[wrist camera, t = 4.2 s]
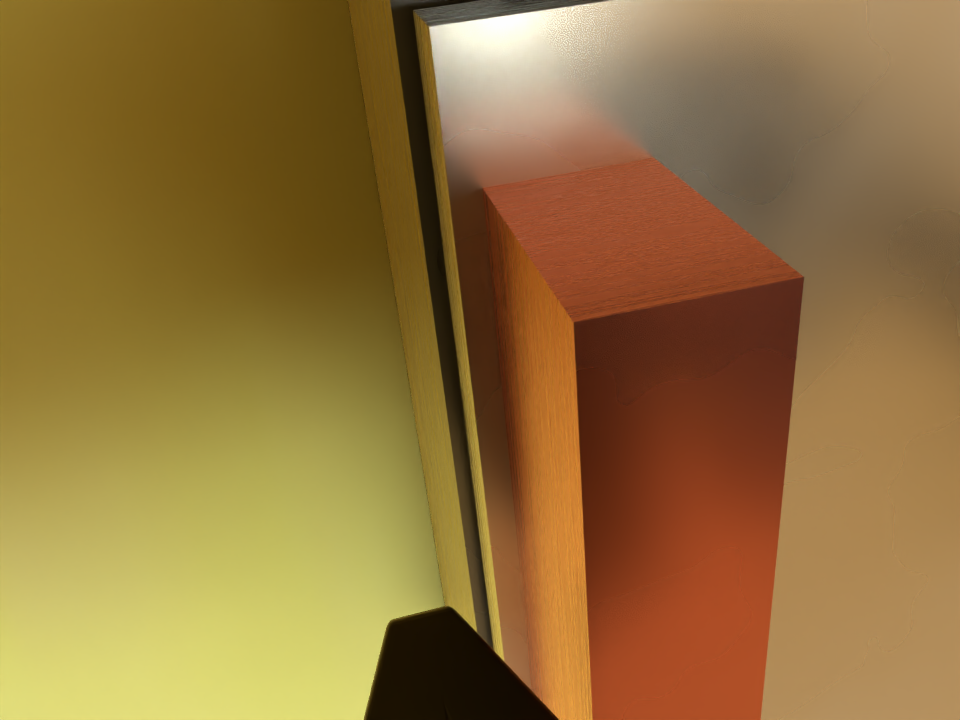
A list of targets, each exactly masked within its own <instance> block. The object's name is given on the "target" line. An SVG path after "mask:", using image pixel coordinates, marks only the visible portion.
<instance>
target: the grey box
mask: <svg viewBox="0 0 960 720" xmlns="http://www.w3.org/2000/svg"><path fill="white" fill-rule="evenodd" d="M474 1H481V0H348V5H349V11H350V17H351V23H352V30H353V36H354V42H355V48H356V54H357V61H358V67H359V73H360V79H361V86H362V92H363V98H364V104H365V111H366V117H367V123H368V129H369V135H370V142H371V148H372V154H373V160H374V167H375V173H376V179H377V185H378V192H379V198H380V204H381V210H382V216H383V223H384V229H385V235H386V241H387V248H388V254H389V260H390V266H391V273H392V279H393V285H394V291H395V298H396V304H397V310H398V316H399V322H400V329H401V335H402V341H403V347H404V354H405V360H406V366H407V372H408V379H409V385H410V391H411V397H412V403H413V410H414V416H415V422H416V428H417V435H418V441H419V447H420V453H421V460H422V466H423V472H424V478H425V484H426V491H427V497H428V503H429V509H430V516H431V522H432V528H433V534H434V541H435V547H436V553H437V559H438V566H439V572H440V578H441V584H442V590H443V597H444V603H445V606H450V607H452V608H454V609H455V610H456V611H457V612H458V613H459V614H460V615H461V616H462V617H463V618H464V619H465V620H466V621H467V623H468V624H469V625H470V626H471V627H472V628H473V629H474V630H475V631H476V632H477V633H478V634H479V635H480V636H481V637H482V638H483V639H484V640H485V642H486V643H487V644H488V645H489V646H490V647H491V648H492V649H493V650H494V648H493V640H492V632H491V624H490V616H489V608H488V600H487V592H486V584H485V576H484V569H483V561H482V553H481V545H480V537H479V529H478V521H477V513H476V505H475V497H474V489H473V481H472V473H471V466H470V458H469V450H468V442H467V434H466V426H465V418H464V410H463V402H462V394H461V386H460V378H459V370H458V363H457V355H456V347H455V339H454V331H453V323H452V315H451V307H450V299H449V291H448V283H447V275H446V267H445V260H444V252H443V244H442V236H441V228H440V220H439V212H438V204H437V196H436V188H435V180H434V172H433V164H432V157H431V149H430V141H429V133H428V125H427V117H426V109H425V101H424V93H423V85H422V77H421V69H420V61H419V54H418V46H417V38H416V30H415V22H414V14H413V10H418V9H425V8H432V7H439V6H446V5H453V4H460V3H467V2H474Z"/></svg>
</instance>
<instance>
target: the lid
mask: <svg viewBox="0 0 960 720" xmlns="http://www.w3.org/2000/svg"><path fill="white" fill-rule="evenodd" d="M413 14H414V22H415V30H416V38H417V46H418V54H419V61H420V69H421V77H422V85H423V93H424V101H425V109H426V117H427V125H428V133H429V141H430V149H431V157H432V164H433V172H434V180H435V188H436V196H437V204H438V212H439V220H440V228H441V236H442V244H443V252H444V260H445V267H446V275H447V283H448V291H449V299H450V307H451V315H452V323H453V331H454V339H455V347H456V355H457V363H458V370H459V378H460V386H461V394H462V402H463V410H464V418H465V426H466V434H467V442H468V450H469V458H470V466H471V473H472V481H473V489H474V497H475V505H476V513H477V521H478V529H479V537H480V545H481V553H482V561H483V569H484V576H485V584H486V592H487V600H488V608H489V616H490V624H491V632H492V640H493V648H494V651H495V652H496V653H497V654H498V655H499V656H500V657H501V658H502V660H503V661H504V662H505V663H506V664H507V665H508V666H509V667H510V668H511V669H512V670H513V671H514V672H515V673H516V674H517V675H518V676H519V678H520V679H521V680H522V681H523V682H524V683H525V684H526V685H527V686H528V687H529V688H530V689H531V690H532V691H533V692H534V693H535V694H536V696H537V697H538V698H539V699H540V700H541V701H542V702H543V703H544V704H545V705H546V706H547V707H548V708H549V709H550V710H551V711H552V712H553V714H554V715H555V716H556V717H557V718H558V719H559V720H960V0H481V1H474V2H467V3H460V4H453V5H446V6H439V7H432V8H425V9H418V10H413Z"/></svg>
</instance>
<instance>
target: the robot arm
mask: <svg viewBox="0 0 960 720" xmlns="http://www.w3.org/2000/svg"><path fill="white" fill-rule="evenodd" d="M364 720H559V719H558V718H557V717H556V716H555V715H554V714H553V712H552V711H551V710H550V709H549V708H548V707H547V706H546V705H545V704H544V703H543V702H542V701H541V700H540V699H539V698H538V697H537V696H536V694H535V693H534V692H533V691H532V690H531V689H530V688H529V687H528V686H527V685H526V684H525V683H524V682H523V681H522V680H521V679H520V678H519V676H518V675H517V674H516V673H515V672H514V671H513V670H512V669H511V668H510V667H509V666H508V665H507V664H506V663H505V662H504V661H503V660H502V658H501V657H500V656H499V655H498V654H497V653H496V652H495V651H494V650H493V649H492V648H491V647H490V646H489V645H488V644H487V643H486V642H485V640H484V639H483V638H482V637H481V636H480V635H479V634H478V633H477V632H476V631H475V630H474V629H473V628H472V627H471V626H470V625H469V624H468V623H467V621H466V620H465V619H464V618H463V617H462V616H461V615H460V614H459V613H458V612H457V611H456V610H455V609H454V608H452V607H450V606H444V607H440V608H436V609H432V610H428V611H424V612H420V613H416V614H412V615H408V616H404V617H400V618H396V619H393V620H391V621H390V622H389V623H388V625H387V627H386V631H385V635H384V639H383V643H382V647H381V651H380V655H379V659H378V663H377V668H376V672H375V676H374V680H373V684H372V688H371V692H370V696H369V700H368V704H367V708H366V712H365V716H364Z"/></svg>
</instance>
